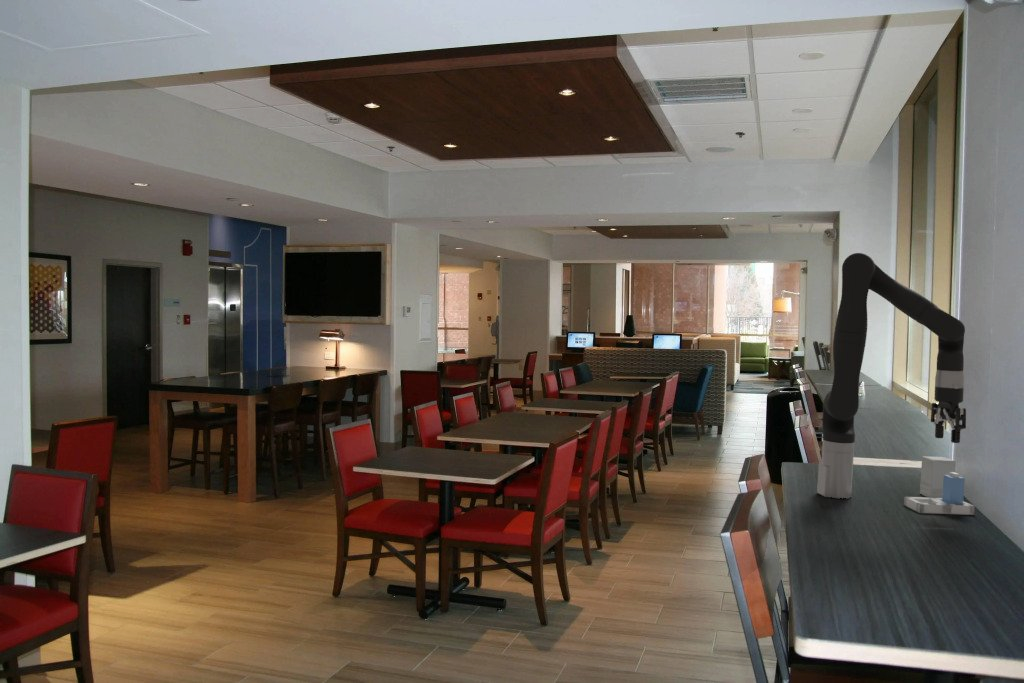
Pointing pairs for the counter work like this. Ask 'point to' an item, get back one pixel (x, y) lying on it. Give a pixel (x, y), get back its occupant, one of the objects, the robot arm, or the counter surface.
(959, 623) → the counter surface
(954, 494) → the plug
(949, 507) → the jack panel
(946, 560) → the counter surface
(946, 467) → the supplement box
